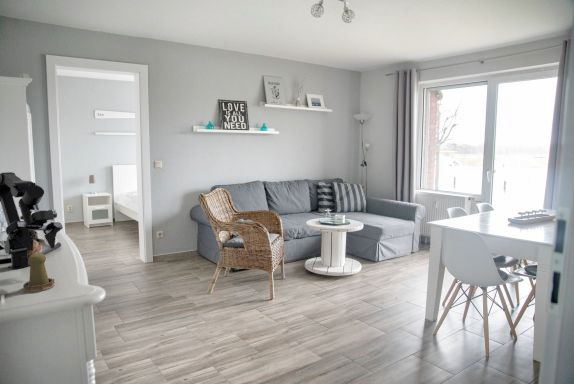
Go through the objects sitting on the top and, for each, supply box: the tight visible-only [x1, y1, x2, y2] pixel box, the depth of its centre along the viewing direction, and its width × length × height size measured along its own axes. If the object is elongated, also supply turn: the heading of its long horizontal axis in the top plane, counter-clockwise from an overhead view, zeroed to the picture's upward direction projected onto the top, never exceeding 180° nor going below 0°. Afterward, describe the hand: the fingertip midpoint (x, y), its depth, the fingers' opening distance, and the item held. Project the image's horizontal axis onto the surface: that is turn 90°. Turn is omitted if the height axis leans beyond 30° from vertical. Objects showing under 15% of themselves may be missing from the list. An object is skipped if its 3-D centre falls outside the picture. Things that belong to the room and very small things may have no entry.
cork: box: [28, 253, 49, 286], centre depth 139 cm, size 6×6×11 cm
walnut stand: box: [22, 277, 55, 293], centre depth 139 cm, size 9×9×2 cm
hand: (41, 248), depth 148 cm, fingers open, 9 cm apart
